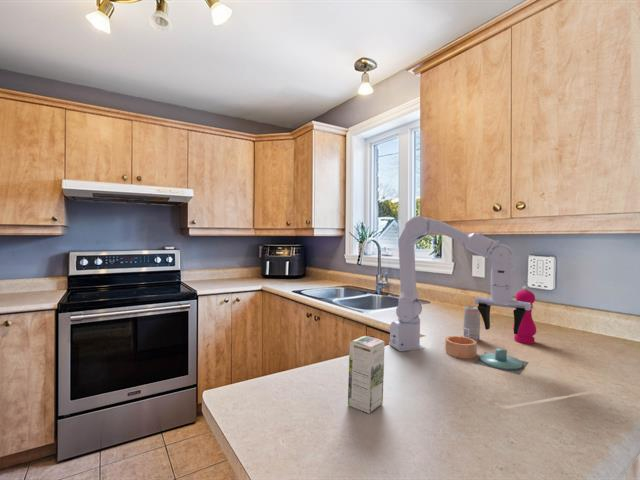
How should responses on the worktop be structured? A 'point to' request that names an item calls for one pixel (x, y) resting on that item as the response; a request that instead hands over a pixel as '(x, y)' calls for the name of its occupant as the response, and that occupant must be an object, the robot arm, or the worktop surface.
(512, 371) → the mat
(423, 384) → the worktop surface
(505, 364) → the cover
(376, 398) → the syrup box
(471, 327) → the energy drink
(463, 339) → the bowl
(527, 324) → the pepper mill
